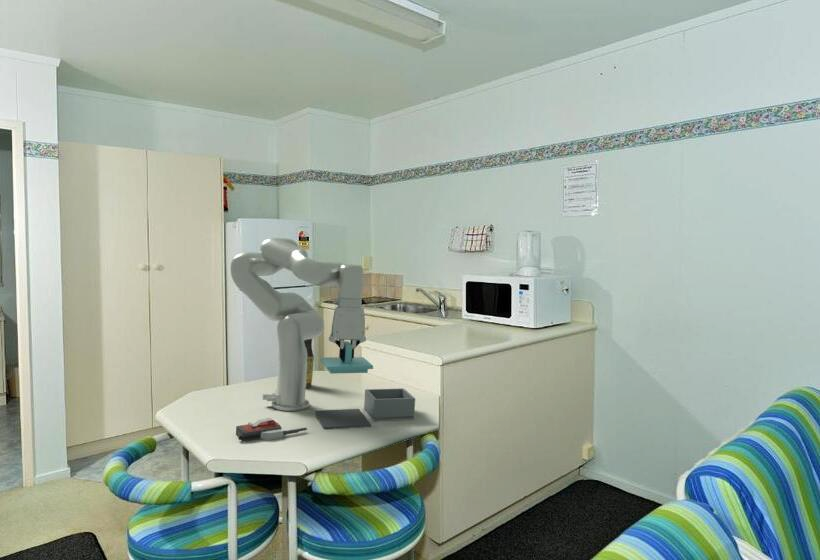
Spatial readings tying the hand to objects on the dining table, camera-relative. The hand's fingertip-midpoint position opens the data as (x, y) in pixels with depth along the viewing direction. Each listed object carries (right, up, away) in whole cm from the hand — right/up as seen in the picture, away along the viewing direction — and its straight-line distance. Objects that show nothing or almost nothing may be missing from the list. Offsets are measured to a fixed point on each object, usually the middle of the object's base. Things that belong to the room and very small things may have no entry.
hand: (346, 360), depth 172 cm
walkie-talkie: (-20, -20, -15) cm, 32 cm away
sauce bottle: (-21, -16, +37) cm, 45 cm away
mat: (-1, -19, +1) cm, 19 cm away
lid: (0, -3, 0) cm, 3 cm away
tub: (+13, -20, +10) cm, 26 cm away
